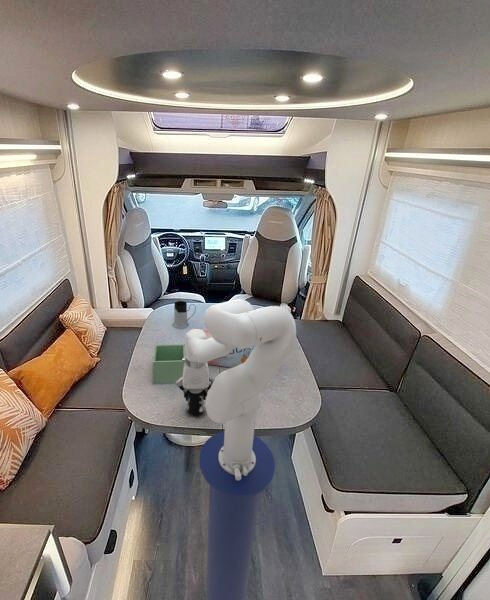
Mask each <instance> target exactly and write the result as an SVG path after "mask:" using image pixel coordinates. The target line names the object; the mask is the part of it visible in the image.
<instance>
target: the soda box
mask: <svg viewBox="0 0 490 600" xmlns="http://www.w3.org/2000/svg"><path fill="white" fill-rule="evenodd" d="M202 330H203V331H204V332H205V333H206V339H208V338H212V335H211V334H210V333H209V332H208V331H207V329H206V330H205V329H202ZM256 346H257V345H255V346H253V347H249V348H245V349H241V348H236V347H235V348H234V349H233V350H232V351H231V352H230V353H229V354H227V355H225V356H222V357H219V358H216V359H213V360H211V361H208V362H207V364H208V366H216V367H217V366H218V367H225V368H233V367H235V366H238V365H240V364H242V363H244V362H245V361H246V360H247V359H248V357H249V355H250V353H251V352H252V350H253V349H254V348H255V347H256Z"/></svg>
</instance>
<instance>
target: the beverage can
mask: <svg viewBox="0 0 490 600" xmlns="http://www.w3.org/2000/svg"><path fill="white" fill-rule="evenodd" d="M187 391H188V401H186V402H187V414H188V415H190V416H192V417H196V418H197V417H200V416H201V415H202V414H203V413H204V408H205V407H204V406H205V403H204V401H205V400H204V388H203V389H188V390H187Z"/></svg>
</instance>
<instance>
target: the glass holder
mask: <svg viewBox="0 0 490 600" xmlns="http://www.w3.org/2000/svg"><path fill="white" fill-rule="evenodd" d="M187 305H188V304H187V302H186V301H184V300H177V301H174V306H173V307H174V308H173V310H174V311H173V312H174V314H173V315H174V322H173V323H174V324H173V327H174V328H177V329H185V328H187V327H188V321H189V320H190V319H191V318H192V317H193V316H194V315H195V313H196V311H197V305H196V304H194V303H191V304H190V305H189V306H187ZM192 306H194V307H195V308H194V312H193V313H192V315H191V316H190V317H188V312H189V311H190V310H191V309H190V308H191V307H192Z"/></svg>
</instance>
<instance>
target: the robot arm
mask: <svg viewBox="0 0 490 600" xmlns="http://www.w3.org/2000/svg"><path fill="white" fill-rule="evenodd" d="M203 323H204V327H205V329H206V331H208V332H209V333H210V334H211V335H212V338H208V339H206V333H205V332H204V331H203V330H204V329H199V328H193V329H190V330H188V331H187V332H186V334H185V358H182V362H185V364H184V368H183V377H181V378H180V379H179V380H177V381H176V383H175V386H176V387H177V388H178V389H179V390H181V391H182V393H183V398H185V401H186V402H187V401H188V389H203V390H204V401H205V410H206V414H207V416H208V418H209V419H210V420H211V421H212V422H214V424H219V425H220V424H221V425H223V424H224V431H225V432H224V446H223V447H222V448H221V449H220V452H219V463H220V465H221V467H222V468H223V469H224V470H225V471H226V472H228V473H230V474H233V475H235V479H236V480H241V475H244V476H247V475H248V473H249V472H251V471H252V470H253V468H254V466H255V462H256V457H255V454H254V452H253V450H252V446H253V437H254V435H255V428H256V420H257V414H258V411H259V409H260V406H261V402H262V394H263V392H265V390H266V389H267V388H268V386H269V385H270V383H271V382H272V380H273V379H274V378H275V376H277V373H278V372H279V370H280V369H281V368H282V367H283V365H284V363H285V362H286V361H287V359H288V358H289V356H290V355H291V354H292V351H293V349H294V347H295V345H296V339H297V326H296V321H295V319H294V316H293V314H292V313H291V312H290V310H288V309H287V308H286V307H283V306H280V305H269V306H264V307H260V308H257V309H254V307H253V305H252V304H251V303H250V302H249V301H247V300H245V299H242V298H241V299H240V298H239V299H232V300H228V301H223V302H219V303H215V304H213V305H210V306H209V307H208V308H207V309H206V311H205V312H204V315H203ZM255 345H257V346H256V347H255V348H254V349H253V350H252V352H251V353H250V355H249V357H248V359H247V360H246V361H245V362H244V363H242V364H240V365H238V366H235V367H233V368H231V367H229V368H227V369H225V370H223V371H221V372H219V374H218V375H216V376H215V378H213V377H211V376H210V369H209V364H207V362H208V361H211V360H213V359H216V358H219V357H222V356H225V355H227V354H229V353H230V352H231V351H232V350H233V349H234V348H235V347H236V348H241V349H245V348H249V347H253V346H255ZM182 382H183V383H182Z"/></svg>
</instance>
